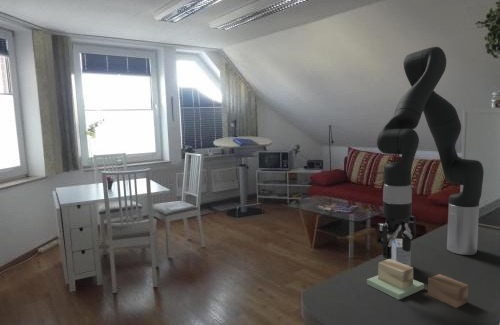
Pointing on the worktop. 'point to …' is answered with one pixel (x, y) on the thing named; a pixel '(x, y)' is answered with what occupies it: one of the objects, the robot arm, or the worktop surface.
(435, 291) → the walnut brick
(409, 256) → the medicine box
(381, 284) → the baseplate
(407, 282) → the birch brick
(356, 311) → the worktop surface
